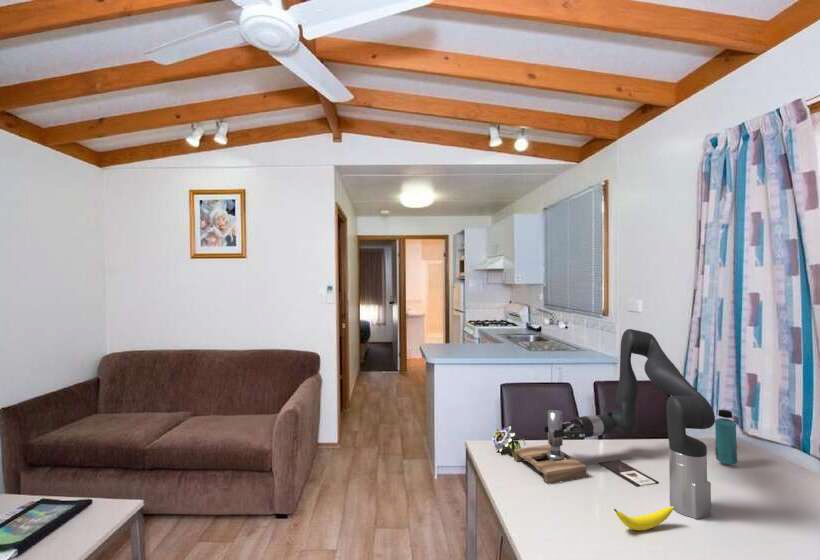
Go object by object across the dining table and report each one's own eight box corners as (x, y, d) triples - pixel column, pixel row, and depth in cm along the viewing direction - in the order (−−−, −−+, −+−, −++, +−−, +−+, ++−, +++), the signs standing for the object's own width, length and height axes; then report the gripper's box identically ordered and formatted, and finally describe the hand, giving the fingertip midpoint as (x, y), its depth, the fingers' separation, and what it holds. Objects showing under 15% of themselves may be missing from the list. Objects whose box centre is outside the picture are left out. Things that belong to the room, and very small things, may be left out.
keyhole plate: (586, 477, 141) (586, 465, 141) (547, 484, 136) (547, 472, 136) (549, 454, 160) (549, 444, 160) (514, 460, 155) (514, 449, 155)
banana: (678, 527, 112) (678, 504, 112) (618, 536, 108) (618, 512, 108) (670, 521, 115) (669, 498, 115) (610, 530, 111) (610, 506, 111)
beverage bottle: (742, 469, 147) (741, 413, 148) (723, 468, 148) (722, 413, 148) (728, 461, 154) (727, 408, 154) (710, 461, 154) (710, 407, 154)
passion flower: (498, 465, 163) (484, 436, 169) (519, 456, 167) (505, 427, 173) (510, 459, 154) (495, 428, 160) (532, 449, 158) (517, 419, 164)
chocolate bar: (618, 459, 154) (658, 481, 137) (618, 462, 154) (658, 484, 137) (598, 462, 152) (636, 485, 134) (598, 465, 152) (636, 488, 134)
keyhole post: (567, 460, 148) (567, 413, 148) (553, 463, 146) (553, 415, 146) (557, 454, 153) (556, 408, 153) (543, 456, 151) (543, 410, 152)
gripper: (574, 410, 161) (537, 415, 156) (601, 422, 147) (561, 428, 142) (574, 430, 161) (537, 435, 156) (601, 443, 147) (562, 449, 142)
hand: (549, 431), depth 149 cm, fingers closed on keyhole post, 5 cm apart
